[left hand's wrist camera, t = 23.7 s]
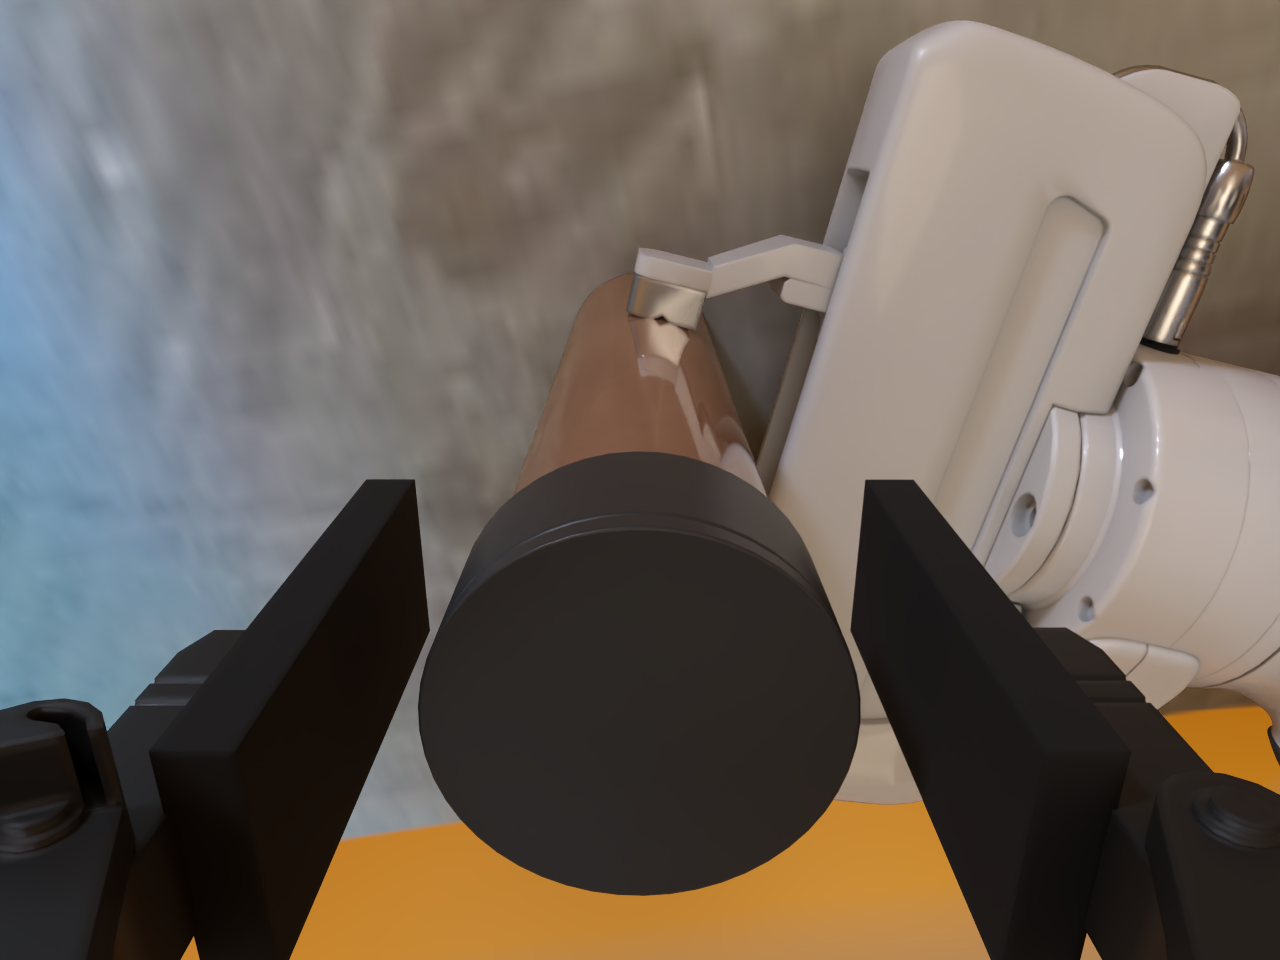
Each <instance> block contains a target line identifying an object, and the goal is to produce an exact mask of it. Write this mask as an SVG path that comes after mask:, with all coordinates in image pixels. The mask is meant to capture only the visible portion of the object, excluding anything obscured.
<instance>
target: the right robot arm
mask: <svg viewBox="0 0 1280 960" xmlns="http://www.w3.org/2000/svg"><path fill="white" fill-rule="evenodd" d="M1247 140H1248V137H1247V125H1246V119H1245V117H1244V114H1243V111H1242V109H1241V107H1240V102H1239V99H1238V98H1237V97H1236V96H1235V95H1234V94H1233V93H1232V92H1230V91H1229V90H1228V89H1226V88H1225V87H1223V86H1221V85H1220V84H1218V83H1216V82H1214V81H1212V80H1209V79H1205V78H1202V77H1198V76H1194V75H1191V74H1187V73H1184V72H1180V71H1176V70H1173V69H1169V68H1165V67H1162V66H1156V65H1141V66H1133V67H1129V68H1126V69H1122V70H1120V71H1118V72H1115V73H1113V74H1110V73H1108V72H1106V71H1104V70H1102V69H1100V68H1097V67H1095V66H1093V65H1091V64H1089V63H1087V62H1085V61H1082V60H1080V59H1078V58H1076V57H1074V56H1071V55H1069V54H1067V53H1064V52H1062V51H1060V50H1057V49H1055V48H1052V47H1050V46H1047V45H1045V44H1042V43H1040V42H1037V41H1035V40H1032V39H1029V38H1026V37H1023V36H1021V35H1018V34H1015V33H1012V32H1009V31H1006V30H1003V29H1000V28H997V27H994V26H990V25H987V24H984V23H979V22H975V21H969V20H956V21H949V22H944V23H940V24H937V25H934V26H932V27H929V28H927V29H925V30H923V31H921V32H919V33H917V34H915V35H914V36H912V37H910V38H908V39H907V40H905V41H904V42H902V43H900V44H899V45H897V46H896V47H894V48H893V49H891V50H889V51H888V52H887V53H886V54H885V55H884V56H883V57H882V58H881V59H880V61H879V63H878V65H877V67H876V70H875V73H874V76H873V79H872V83H871V86H870V89H869V92H868V96H867V99H866V102H865V106H864V109H863V112H862V116H861V119H860V122H859V126H858V129H857V132H856V135H855V139H854V142H853V145H852V149H851V152H850V155H849V159H848V162H847V165H846V168H845V172H844V175H843V178H842V182H841V185H840V188H839V192H838V195H837V198H836V202H835V205H834V208H833V211H832V215H831V218H830V221H829V225H828V228H827V231H826V235H825V238H824V241H823V244H819V243H814V242H810V241H806V240H802V239H798V238H794V237H790V236H785V235H778V236H775V237H771V238H768V239H765V240H762V241H759V242H755V243H752V244H749V245H746V246H743V247H739V248H736V249H733V250H730V251H727V252H724V253H720V254H717V255H714V256H711V257H708V260H707V262H705V261H701V260H697V259H692V258H688V257H684V256H680V255H676V254H672V253H668V252H664V251H659V250H655V249H648V248H639V250H638V255H637V260H636V264H635V267H634V272H633V277H632V282H631V286H630V291H629V296H628V301H627V305H626V311H627V312H629V313H630V314H633V315H636V316H639V317H642V318H650V319H655V318H658V317H660V316H663V317H664V318H665V319H666V320H667V321H668V322H669V323H671V324H674V325H676V326H680V327H684V328H689V329H693V330H696V328H697V324H698V321H699V317H700V314H701V310H702V307H703V303H704V300H705V296H706V298H707V299H708V298H711V297H715V296H718V295H722V294H725V293H729V292H732V291H736V290H739V289H743V288H746V287H750V286H753V285H757V284H760V283H764V282H767V281H769V285H770V287H771V289H772V290H773V291H774V292H775V293H776V294H777V295H778V296H779V297H780V299H781V300H782V301H783V302H785V303H789V304H793V305H797V306H800V307H803V311H802V314H801V317H800V320H799V324H798V327H797V330H796V334H795V337H794V340H793V344H792V347H791V350H790V353H789V357H788V360H787V363H786V367H785V370H784V373H783V377H782V380H781V383H780V386H779V390H778V393H777V396H776V400H775V403H774V406H773V410H772V413H771V416H770V420H769V423H768V426H767V429H766V433H765V436H764V439H763V443H762V446H761V449H760V453H759V456H758V459H757V462H756V466H757V469H758V472H759V475H760V478H761V480H762V483H763V486H764V489H765V492H766V494H767V497H768V498H769V499H770V500H771V501H772V502H773V503H774V504H775V505H776V506H777V507H778V508H779V509H780V510H781V511H782V512H783V513H784V514H785V516H786V517H787V518H788V519H789V520H790V522H791V523H792V525H793V526H794V527H795V529H796V530H797V532H798V533H799V535H800V536H801V538H802V540H803V542H804V544H805V546H806V548H807V550H808V552H809V554H810V556H811V558H812V560H813V563H814V565H815V568H816V570H817V572H818V575H819V577H820V580H821V582H822V585H823V587H824V590H825V592H826V594H827V597H828V599H829V602H830V604H831V607H832V609H833V612H834V614H835V617H836V619H837V621H838V624H839V626H840V629H841V631H842V634H843V636H844V639H845V641H846V643H847V646H848V648H849V651H850V654H851V657H852V660H853V663H854V666H855V670H856V673H857V678H858V684H859V691H860V697H861V723H860V729H859V736H858V742H857V747H856V750H855V753H854V757H853V760H852V763H851V766H850V769H849V772H848V774H847V776H846V778H845V780H844V782H843V784H842V786H841V788H840V790H839V792H838V793H837V795H836V796H835V798H834V799H833V800H840V801H849V802H858V803H869V804H886V805H891V804H906V803H914V802H919V801H922V797H921V795H920V793H919V790H918V788H917V786H916V783H915V781H914V779H913V776H912V774H911V772H910V769H909V767H908V765H907V762H906V760H905V758H904V755H903V753H902V751H901V748H900V746H899V744H898V741H897V739H896V736H895V734H894V732H893V729H892V727H891V725H890V722H889V720H888V718H887V715H886V713H885V711H884V708H883V706H882V704H881V701H880V699H879V697H878V694H877V692H876V690H875V687H874V685H873V683H872V680H871V678H870V676H869V673H868V671H867V669H866V666H865V664H864V662H863V659H862V657H861V655H860V652H859V650H858V648H857V645H856V643H855V641H854V638H853V636H852V634H851V631H850V628H851V618H852V608H853V598H854V588H855V578H856V568H857V558H858V548H859V537H860V527H861V517H862V507H863V497H864V487H865V480H914V481H915V482H916V483H917V484H918V486H919V487H920V488H921V489H922V491H923V492H924V493H925V494H926V496H927V497H928V498H929V499H930V501H931V502H932V503H933V504H934V506H935V507H936V508H937V509H938V511H939V512H940V513H941V514H942V516H943V517H944V518H945V519H946V521H947V522H948V523H949V524H950V526H951V527H952V528H953V529H954V531H955V532H956V533H957V534H958V536H959V537H960V538H961V539H962V541H963V542H964V543H965V544H966V546H967V547H968V548H969V549H970V551H971V552H972V553H973V554H974V556H975V557H976V558H977V559H978V560H979V562H980V563H981V564H982V565H983V567H984V568H985V569H986V570H987V572H988V573H989V574H990V575H991V577H992V578H993V579H994V580H995V582H996V583H997V584H998V585H999V587H1000V588H1001V589H1002V590H1003V592H1004V593H1005V594H1006V595H1007V597H1008V598H1009V599H1010V600H1011V602H1012V603H1013V604H1014V605H1015V607H1016V608H1017V609H1018V610H1019V612H1020V613H1021V614H1022V615H1023V617H1024V618H1025V619H1026V620H1027V622H1028V623H1029V624H1030V625H1031V627H1066V628H1068V629H1070V630H1071V631H1073V632H1074V633H1076V634H1078V635H1079V636H1081V637H1083V638H1084V639H1086V640H1088V641H1089V642H1091V643H1093V644H1094V645H1096V646H1097V647H1099V648H1101V649H1102V650H1103V651H1104V652H1105V653H1106V654H1107V655H1108V656H1109V657H1110V658H1111V659H1112V661H1113V662H1114V663H1115V664H1116V665H1117V666H1118V667H1119V668H1120V669H1121V671H1122V672H1123V673H1124V674H1125V675H1126V680H1127V681H1131V682H1132V683H1133V684H1134V685H1135V686H1136V687H1137V688H1138V689H1139V690H1140V692H1141V693H1142V694H1143V695H1144V696H1145V697H1146V698H1145V700H1146V703H1151V704H1152V705H1153V706H1154V707H1155V708H1156V709H1157V710H1158V709H1159V708H1160V707H1162V706H1163V705H1164V704H1166V703H1167V702H1169V701H1170V700H1172V699H1173V698H1174V697H1176V696H1177V695H1178V694H1179V693H1180V692H1182V691H1183V690H1184V689H1185V688H1221V689H1228V690H1232V691H1235V692H1237V693H1240V694H1242V695H1244V696H1246V697H1247V698H1249V699H1250V700H1252V701H1253V702H1255V703H1256V704H1258V705H1259V706H1260V707H1262V708H1263V709H1264V710H1265V711H1266V712H1267V713H1268V714H1269V716H1270V717H1271V720H1272V723H1273V725H1272V726H1270V727H1269V728H1268V731H1267V733H1268V737H1269V740H1270V743H1271V746H1272V749H1273V751H1274V754H1275V756H1276V759H1277V761H1278V763H1279V765H1280V376H1278V375H1274V374H1270V373H1265V372H1261V371H1257V370H1253V369H1249V368H1245V367H1241V366H1237V365H1233V364H1228V363H1224V362H1220V361H1216V360H1212V359H1208V358H1204V357H1200V356H1196V355H1192V354H1188V353H1185V352H1181V351H1180V350H1178V349H1177V348H1178V345H1179V343H1180V341H1181V339H1182V337H1183V335H1184V333H1185V330H1186V328H1187V326H1188V324H1189V322H1190V320H1191V317H1192V315H1193V313H1194V311H1195V309H1196V307H1197V305H1198V302H1199V300H1200V298H1201V296H1202V293H1203V291H1204V288H1205V286H1206V283H1207V281H1208V278H1207V276H1208V275H1209V274H1210V271H1211V268H1212V267H1211V266H1210V265H1211V264H1213V262H1214V259H1215V255H1214V254H1215V253H1217V251H1218V249H1219V246H1220V244H1219V242H1221V241H1222V240H1223V238H1224V236H1225V233H1226V231H1227V229H1228V227H1229V225H1230V224H1233V223H1234V222H1235V220H1236V219H1237V217H1238V215H1239V214H1240V212H1241V210H1242V208H1243V206H1244V203H1245V201H1246V199H1247V196H1248V194H1249V190H1250V187H1251V183H1252V180H1253V175H1254V167H1252V166H1251V165H1248V164H1244V163H1243V162H1244V158H1245V154H1246V148H1247ZM1226 142H1227V147H1226V153H1225V158H1224V159H1219V158H1220V156H1221V154H1222V151H1223V149H1224V147H1225V145H1226Z"/></svg>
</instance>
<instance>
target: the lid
mask: <svg viewBox="0 0 1280 960" xmlns="http://www.w3.org/2000/svg"><path fill="white" fill-rule="evenodd" d="M418 715H419V731H420V736H421V740H422V745H423V749H424V754H425V757H426V760H427V762H428V765H429V768H430V770H431V773H432V776H433V778H434V780H435V782H436V784H437V785H438V787H439V789H440V791H441V793H442V794H443V796H444V798H445V800H446V801H447V802H448V804H449V805H450V806H451V808H452V809H453V810H454V812H455V813H456V814H457V816H458V817H459V818H460V819H461V820H462V821H463V822H464V824H465V825H466V826H467V827H468V828H469V829H470V830H471V831H472V832H473V833H474V834H475V835H476V836H477V837H478V838H480V839H481V840H482V841H484V842H485V843H486V844H487V845H489V846H490V847H491V848H492V849H494V850H495V851H496V852H497V853H499V854H501V855H502V856H504V857H506V858H507V859H509V860H510V861H512V862H514V863H515V864H517V865H518V866H520V867H523V868H525V869H527V870H529V871H531V872H533V873H535V874H537V875H539V876H541V877H544V878H547V879H550V880H553V881H556V882H558V883H561V884H564V885H567V886H572V887H576V888H580V889H584V890H588V891H593V892H601V893H608V894H616V895H640V896H646V895H661V894H673V893H678V892H685V891H690V890H696V889H700V888H704V887H707V886H711V885H714V884H718V883H722V882H724V881H727V880H729V879H732V878H734V877H737V876H740V875H742V874H745V873H747V872H749V871H751V870H753V869H754V868H756V867H758V866H760V865H762V864H764V863H766V862H768V861H769V860H771V859H772V858H774V857H775V856H777V855H778V854H780V853H781V852H783V851H784V850H786V849H787V848H789V847H790V846H791V845H792V844H793V843H794V842H796V841H797V840H798V839H799V838H800V837H801V836H802V835H804V834H805V833H806V832H807V831H808V830H809V829H810V828H811V827H812V826H813V825H814V824H815V822H816V821H817V820H818V819H819V818H820V817H821V816H822V815H823V814H824V812H825V811H826V810H827V808H828V807H829V805H830V804H831V802H832V801H833V799H834V798H835V796H836V795H837V793H838V792H839V790H840V788H841V786H842V784H843V782H844V780H845V778H846V776H847V774H848V772H849V769H850V766H851V763H852V760H853V757H854V753H855V750H856V747H857V742H858V736H859V729H860V723H861V697H860V691H859V684H858V678H857V673H856V670H855V666H854V663H853V660H852V657H851V654H850V651H849V648H848V646H847V643H846V641H845V639H844V636H843V634H842V631H841V629H840V626H839V624H838V621H837V619H836V617H835V614H834V612H833V609H832V607H831V604H830V602H829V599H828V597H827V594H826V592H825V590H824V587H823V585H822V582H821V580H820V577H819V575H818V572H817V570H816V568H815V565H814V563H813V560H812V558H811V556H810V554H809V552H808V550H807V548H806V546H805V544H804V542H803V540H802V538H801V536H800V535H799V533H798V532H797V530H796V529H795V527H794V526H793V525H792V523H791V522H790V520H789V519H788V518H787V517H786V516H785V514H784V513H783V512H782V511H781V510H780V509H779V508H778V507H777V506H776V505H775V504H774V503H773V502H772V501H771V500H770V499H769V498H767V497H766V496H765V495H764V494H763V493H761V492H760V491H759V490H758V489H756V488H755V487H754V486H752V485H751V484H749V483H747V482H746V481H744V480H742V479H741V478H739V477H737V476H736V475H734V474H732V473H730V472H728V471H726V470H723V469H721V468H719V467H717V466H714V465H712V464H710V463H706V462H703V461H699V460H696V459H693V458H689V457H686V456H680V455H674V454H668V453H662V452H640V451H633V452H621V453H609V454H604V455H600V456H595V457H590V458H585V459H582V460H579V461H576V462H574V463H571V464H568V465H565V466H562V467H560V468H558V469H556V470H554V471H552V472H550V473H548V474H546V475H544V476H542V477H540V478H538V479H536V480H535V481H533V482H532V483H530V484H529V485H528V486H526V487H525V488H523V489H522V490H520V491H519V492H518V493H516V494H515V495H514V496H513V497H512V498H511V499H510V500H509V501H507V502H506V503H505V504H504V505H503V506H502V507H501V508H500V509H499V510H498V511H497V513H496V514H495V515H494V516H493V517H492V518H491V520H490V521H489V522H488V523H487V524H486V526H485V527H484V529H483V531H482V532H481V534H480V535H479V537H478V539H477V540H476V542H475V543H474V546H473V548H472V550H471V552H470V555H469V557H468V559H467V562H466V564H465V566H464V569H463V571H462V574H461V576H460V579H459V581H458V583H457V586H456V588H455V591H454V593H453V596H452V598H451V600H450V603H449V605H448V608H447V610H446V613H445V615H444V617H443V620H442V622H441V625H440V627H439V630H438V632H437V635H436V637H435V639H434V642H433V644H432V647H431V649H430V652H429V654H428V656H427V659H426V663H425V667H424V671H423V674H422V678H421V682H420V692H419V702H418Z"/></svg>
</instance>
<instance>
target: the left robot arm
mask: <svg viewBox="0 0 1280 960" xmlns="http://www.w3.org/2000/svg"><path fill="white" fill-rule="evenodd" d="M429 631H430V628H429V618H428V608H427V598H426V588H425V577H424V567H423V557H422V547H421V537H420V527H419V517H418V507H417V497H416V487H415V480H366V481H365V482H364V483H363V484H362V486H361V487H360V488H359V489H358V491H357V492H356V493H355V494H354V496H353V497H352V498H351V499H350V501H349V502H348V503H347V504H346V506H345V507H344V508H343V509H342V511H341V512H340V513H339V514H338V516H337V517H336V518H335V519H334V521H333V522H332V523H331V524H330V526H329V527H328V528H327V529H326V531H325V532H324V533H323V534H322V536H321V537H320V538H319V539H318V541H317V542H316V543H315V544H314V546H313V547H312V548H311V549H310V551H309V552H308V553H307V554H306V556H305V557H304V558H303V559H302V561H301V562H300V563H299V564H298V565H297V567H296V568H295V569H294V570H293V572H292V573H291V574H290V575H289V577H288V578H287V579H286V580H285V582H284V583H283V584H282V585H281V587H280V588H279V589H278V590H277V592H276V593H275V594H274V595H273V597H272V598H271V599H270V600H269V602H268V603H267V604H266V605H265V607H264V608H263V609H262V610H261V612H260V613H259V614H258V615H257V617H256V618H255V619H254V620H253V622H252V623H251V624H250V625H249V627H248V628H247V629H246V630H214V631H212V632H211V633H209V634H208V635H206V636H204V637H203V638H201V639H199V640H198V641H196V642H194V643H193V644H191V645H190V646H188V647H186V648H185V649H183V650H181V651H180V652H178V653H177V654H176V655H175V657H174V658H173V659H172V660H171V661H170V662H169V663H168V664H167V665H166V667H165V668H164V669H163V670H162V671H161V672H160V673H159V674H158V675H157V677H156V678H155V683H154V684H149V685H148V687H147V688H146V689H145V690H144V691H143V692H142V693H141V694H140V696H139V697H138V698H137V699H136V700H135V706H130V707H129V708H128V709H127V710H126V711H125V712H124V713H123V714H122V716H121V717H120V718H119V719H118V720H117V721H116V722H115V723H114V724H113V726H112V727H111V728H110V729H109V730H108V731H107V730H106V726H105V722H104V719H103V715H102V712H101V711H99V710H98V709H97V708H95V707H94V706H92V705H91V704H90V703H88V702H83V701H77V700H70V699H54V700H43V701H33V702H29V703H26V704H22V705H18V706H14V707H11V708H7V709H3V710H0V960H181V958H182V956H183V954H184V952H185V951H186V949H187V947H188V945H189V943H190V942H191V940H192V938H193V936H194V938H195V942H196V946H197V950H198V954H199V958H200V960H289V959H290V956H291V954H292V952H293V949H294V947H295V945H296V942H297V940H298V938H299V935H300V933H301V931H302V928H303V926H304V924H305V921H306V919H307V917H308V914H309V912H310V910H311V907H312V905H313V903H314V900H315V898H316V896H317V893H318V891H319V889H320V886H321V884H322V882H323V879H324V877H325V875H326V872H327V870H328V868H329V865H330V863H331V860H332V858H333V856H334V854H335V851H336V849H337V846H338V844H339V842H340V839H341V837H342V835H343V832H344V830H345V828H346V825H347V823H348V821H349V818H350V816H351V814H352V811H353V809H354V807H355V804H356V802H357V800H358V797H359V795H360V793H361V790H362V788H363V786H364V783H365V781H366V779H367V776H368V774H369V772H370V769H371V767H372V765H373V762H374V760H375V758H376V755H377V753H378V751H379V748H380V746H381V744H382V741H383V739H384V737H385V734H386V732H387V729H388V727H389V725H390V722H391V720H392V718H393V715H394V713H395V711H396V708H397V706H398V704H399V701H400V699H401V697H402V694H403V692H404V690H405V687H406V685H407V683H408V680H409V678H410V676H411V673H412V671H413V669H414V666H415V664H416V662H417V659H418V657H419V655H420V652H421V650H422V648H423V645H424V643H425V641H426V638H427V636H428V634H429ZM850 631H851V634H852V636H853V638H854V641H855V643H856V645H857V648H858V650H859V652H860V655H861V657H862V659H863V662H864V664H865V666H866V669H867V671H868V673H869V676H870V678H871V680H872V683H873V685H874V687H875V690H876V692H877V694H878V697H879V699H880V701H881V704H882V706H883V708H884V711H885V713H886V715H887V718H888V720H889V722H890V725H891V727H892V729H893V732H894V734H895V736H896V739H897V741H898V744H899V746H900V748H901V751H902V753H903V755H904V758H905V760H906V762H907V765H908V767H909V769H910V772H911V774H912V776H913V779H914V781H915V783H916V786H917V788H918V790H919V793H920V795H921V797H922V800H923V802H924V804H925V807H926V809H927V811H928V814H929V816H930V818H931V821H932V823H933V825H934V828H935V830H936V832H937V835H938V837H939V839H940V842H941V844H942V846H943V849H944V851H945V853H946V856H947V858H948V860H949V863H950V865H951V867H952V870H953V872H954V875H955V877H956V879H957V882H958V884H959V886H960V889H961V891H962V893H963V896H964V898H965V900H966V903H967V905H968V907H969V910H970V912H971V914H972V917H973V919H974V921H975V924H976V926H977V928H978V931H979V933H980V935H981V938H982V940H983V942H984V945H985V947H986V949H987V952H988V954H989V956H990V959H991V960H1080V958H1081V954H1082V950H1083V946H1084V942H1085V938H1086V934H1088V935H1089V937H1090V939H1091V941H1092V942H1093V944H1094V946H1095V948H1096V950H1097V951H1098V953H1099V955H1100V957H1101V958H1102V960H1280V795H1279V794H1277V793H1275V792H1273V791H1271V790H1269V789H1267V788H1265V787H1263V786H1261V785H1259V784H1256V783H1253V782H1250V781H1247V780H1243V779H1240V778H1237V777H1234V776H1230V775H1227V774H1222V773H1214V772H1213V771H1212V770H1211V769H1210V768H1209V767H1208V766H1207V764H1206V763H1205V762H1204V761H1203V760H1202V759H1201V758H1200V757H1199V756H1198V754H1197V753H1196V752H1195V751H1194V750H1193V749H1192V748H1191V747H1190V746H1189V745H1188V743H1187V742H1186V741H1185V740H1184V739H1183V738H1182V737H1181V736H1180V735H1179V734H1178V732H1177V731H1176V730H1175V729H1174V728H1173V727H1172V726H1171V725H1170V724H1169V722H1168V721H1167V720H1166V719H1165V718H1164V717H1163V716H1162V715H1161V714H1160V713H1159V711H1158V710H1157V709H1156V708H1155V707H1154V706H1153V705H1152V704H1151V703H1146V700H1145V698H1146V697H1145V696H1144V695H1143V694H1142V693H1141V692H1140V690H1139V689H1138V688H1137V687H1136V686H1135V685H1134V684H1133V683H1132V682H1131V681H1127V680H1126V675H1125V674H1124V673H1123V672H1122V671H1121V669H1120V668H1119V667H1118V666H1117V665H1116V664H1115V663H1114V662H1113V661H1112V659H1111V658H1110V657H1109V656H1108V655H1107V654H1106V653H1105V652H1104V651H1103V650H1102V649H1101V648H1099V647H1097V646H1096V645H1094V644H1093V643H1091V642H1089V641H1088V640H1086V639H1084V638H1083V637H1081V636H1079V635H1078V634H1076V633H1074V632H1073V631H1071V630H1070V629H1068V628H1066V627H1031V625H1030V624H1029V623H1028V622H1027V620H1026V619H1025V618H1024V617H1023V615H1022V614H1021V613H1020V612H1019V610H1018V609H1017V608H1016V607H1015V605H1014V604H1013V603H1012V602H1011V600H1010V599H1009V598H1008V597H1007V595H1006V594H1005V593H1004V592H1003V590H1002V589H1001V588H1000V587H999V585H998V584H997V583H996V582H995V580H994V579H993V578H992V577H991V575H990V574H989V573H988V572H987V570H986V569H985V568H984V567H983V565H982V564H981V563H980V562H979V560H978V559H977V558H976V557H975V556H974V554H973V553H972V552H971V551H970V549H969V548H968V547H967V546H966V544H965V543H964V542H963V541H962V539H961V538H960V537H959V536H958V534H957V533H956V532H955V531H954V529H953V528H952V527H951V526H950V524H949V523H948V522H947V521H946V519H945V518H944V517H943V516H942V514H941V513H940V512H939V511H938V509H937V508H936V507H935V506H934V504H933V503H932V502H931V501H930V499H929V498H928V497H927V496H926V494H925V493H924V492H923V491H922V489H921V488H920V487H919V486H918V484H917V483H916V482H915V481H914V480H865V487H864V497H863V507H862V517H861V527H860V537H859V548H858V558H857V568H856V578H855V588H854V598H853V608H852V618H851V628H850Z"/></svg>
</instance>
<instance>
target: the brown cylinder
mask: <svg viewBox="0 0 1280 960" xmlns="http://www.w3.org/2000/svg"><path fill="white" fill-rule="evenodd" d="M632 277H633V274H628V275H623V276H619V277H617V278H614V279H612V280H610V281H608V282H606V283H604V284H603V285H601V286H600V287H598V288H597V289H596V290H595V291H594V292H593V293H592V294H590V296H589V297H588V298H587V299H586V300H585V302H584V303H583V305H582V307H581V308H580V310H579V312H578V314H577V317H576V319H575V322H574V325H573V328H572V330H571V333H570V336H569V339H568V342H567V344H566V347H565V350H564V353H563V355H562V358H561V361H560V364H559V367H558V369H557V372H556V375H555V378H554V381H553V383H552V386H551V389H550V392H549V395H548V397H547V400H546V403H545V406H544V409H543V411H542V414H541V417H540V420H539V423H538V425H537V428H536V431H535V434H534V437H533V439H532V442H531V445H530V448H529V450H528V453H527V456H526V459H525V462H524V464H523V467H522V470H521V473H520V476H519V478H518V481H517V484H516V487H515V490H514V492H513V495H512V497H513V496H514V495H515V494H516V493H518V492H519V491H520V490H522V489H523V488H525V487H526V486H528V485H529V484H530V483H532V482H533V481H535V480H536V479H538V478H540V477H542V476H544V475H546V474H548V473H550V472H552V471H554V470H556V469H558V468H560V467H562V466H565V465H568V464H571V463H574V462H576V461H579V460H582V459H585V458H590V457H595V456H600V455H604V454H609V453H621V452H633V451H640V452H662V453H668V454H674V455H680V456H686V457H689V458H693V459H696V460H699V461H703V462H706V463H710V464H712V465H714V466H717V467H719V468H721V469H723V470H726V471H728V472H730V473H732V474H734V475H736V476H737V477H739V478H741V479H742V480H744V481H746V482H747V483H749V484H751V485H752V486H754V487H755V488H756V489H758V490H759V491H760V492H761V493H763V494H764V495H765V496H766V497H767V494H766V492H765V489H764V486H763V483H762V480H761V478H760V475H759V472H758V469H757V466H756V463H755V461H754V458H753V455H752V452H751V449H750V447H749V444H748V441H747V438H746V435H745V432H744V430H743V427H742V424H741V421H740V418H739V416H738V413H737V410H736V407H735V404H734V402H733V399H732V396H731V393H730V390H729V387H728V385H727V382H726V379H725V376H724V373H723V371H722V368H721V365H720V362H719V359H718V356H717V354H716V351H715V348H714V345H713V342H712V340H711V337H710V334H709V331H708V328H707V325H706V323H705V320H704V317H703V314H702V312H701V314H700V317H699V321H698V324H697V328H696V330H693V329H689V328H684V327H680V326H676V325H674V324H671V323H669V322H668V321H667V320H666V319H665V318H664V317H663V316H660V317H658V318H655V319H650V318H642V317H639V316H636V315H633V314H630V313H629V312H627V311H626V305H627V301H628V296H629V291H630V286H631V282H632ZM767 498H768V497H767Z"/></svg>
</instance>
